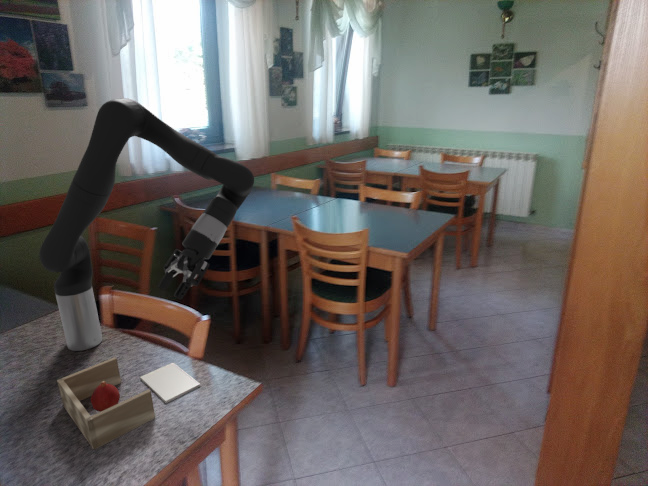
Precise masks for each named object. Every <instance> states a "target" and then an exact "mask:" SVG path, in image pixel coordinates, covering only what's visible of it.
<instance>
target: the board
mask: <svg viewBox="0 0 648 486" xmlns="http://www.w3.org/2000/svg"><path fill="white" fill-rule="evenodd" d="M139 379H140V380H141V381H142V382H143V383H144V384H145V385H146V386H147V387H148V388H149V390H150V391H152V392H153V393H154V394H156V396H158V397H159V398H160V400H162V401H163V402H164V403H165V404H168V403H169V402H172V401H174V400H175V399H177V398H179V397H181V396H184V395H185V394H187V393H189V392H191V391H194V390H196V389H197V388H199V387H201V383H200V382H199V381H197V380H196V379H195V378H193V377H192V376H191V375H190V374H188V373H187V372H186V371H185V370H183V369H182V368H181V367H179V365H177V364H176V363H174V362H171V363H168V364H167V365H163V366H162V367H159V368H157V369H155V370H153V371H151V372H149V373H146V374H144V375H142V376H139Z"/></svg>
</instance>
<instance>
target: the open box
mask: <svg viewBox="0 0 648 486" xmlns="http://www.w3.org/2000/svg"><path fill="white" fill-rule="evenodd" d="M56 381H57V385H58V390H59V393H60V398H61V402H62V406H63V408H64V409H65V410H66V412H67V413H68V415H69V416H70V417H71V419H72V420H73V422H74V423H75V425H76V427H78V429H79V432H81V433H82V435H83V437H84V438H85V439H86V441H87V442H88V444H89V445H90V447H91V448H92V449H93V450H96V449H98V448H101V447H102V446H104V445H105V444H108V443H110V442H112V441H114V440H116V439H117V438H119V437H121V436H123V435H125V434H127V433H129V432H131V431H133V430H135V429H137V428H139V427H141V426H143V425H144V424H146V423H149V422H150V421H153V420H154V419H156V414H155V408H154V401H153V397H152V396H153V395H152V390H151V389H150V388H149V389H146V390H145V391H141V392H140V393H138V394H136V395H133V396H131V397H129V398H128V399H125V400H123V401H120V402H118V404H116V405H114V406H112V407H110V408H108V409H106V410H104V411H101V412H100V411H98V413H95V414H93V415H90V413H89V412H88V411H87V409H86V408H85V407H84V405H83V404H82V403H81V401H83V400H86V399H88V398H91V396H92V393H93V391H94V390H95V389H96V388H97V387H98V386H99V385H100V384H101V383H102V382H103V381H105V382H106V383H107V384H111V385H113V386H115V387H116V386H117V385H119V384H122V379H121V375H120V368H119V363H118V358H117V357H116V356H114V357H113V358H109V359H107V360H105V361H102V362H100V363H97V364H95V365H92V366H89V367H87V368H84V369H82V370H79V371H77V372H74V373H71V374H69V375H67V376H64V377H62V378H59V379H57V380H56Z"/></svg>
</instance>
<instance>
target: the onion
mask: <svg viewBox="0 0 648 486" xmlns="http://www.w3.org/2000/svg"><path fill="white" fill-rule="evenodd" d="M120 399H121V395H120V392H119V389H118V388H117V387H116V385H115V386H113V385H111V384H107V383H106V382H105V381H103V382H102V383H101V384H100V385H99V386H98V387H97V388H96V389H95V390H94V391H93V393H92V396H90V403H91V406H92V408H93V409H94V410H95V411H97V412H101V411H104V410H106V409H108V408H110V407H112V406H114V405H116V404H118V403H120Z"/></svg>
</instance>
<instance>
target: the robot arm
mask: <svg viewBox="0 0 648 486" xmlns="http://www.w3.org/2000/svg"><path fill="white" fill-rule="evenodd" d="M132 137H136V138H140V139H142V140H145V141H148V142H149V143H152V144H153V145H155V146H157V147H158V148H160V149H161V150H163V151H164V153H166V154H167V155H168V156H170V158H171V159H172V160H174V161H175V162H177V163H178V164H179V165H180V166H182V167H183V168H184V169H186V170H188V171H190V172H192V173H193V174H195V175H197V176H200V177H201V178H203V179H205V180H208V181H210V180H214V181H215V182H218V183H219V184H222V186H221V187H220V189H219V191H218V192H217V194H216V196H213V198H212V199H211V200H210V202H209V203H208V205H207V206H206V208H205V209H204V211H203V212H202V214H200V216H199V217H198V218H197V219H196V221H195V223H194V224H193V225H192V227H191V228H190V230H189V232H188V233H187V234H186V236H185V238H184V239H183V241H182V242H181V243H182V246H183V247H184V249H183V250H182V251H181V250H180V249H178V248H176V249H175V250H173V252H172V254H171V255H170V257H168V259H167V261H166V263H165V264H164V265H163V267H162V268H163V270H164V273H165V274H164V275H163V276H162V277H161V279H160V281H159V283H158V285H157V287H158V288H159V289H161V290H163V291H167V289H168V288H169V286H170V284H171V283H172V281H173V280H174V277H176V276H177V275H178V274H183V278H182V281H181V282H180V284H179V285H178V287H177V288H176V290H175V291H174V293H173V297H175V298H176V299H178V300H180V301H181V300H183V298H184V297H185V296H186V294H187V292H188V290H190V288H191V287H192V288H193V286H195V287H199V285H200V283H201V282H202V280H203V278H204V276H205V275H206V273H207V271H208V269H209V267H210V263H209V262H207V261H206V260H209V259H211V257H212V256H213V254H214V252H215V250H216V248H217V247H218V245H219V244H220V242H222V241H221V240H222V239H223V237H224V236H225V233H226V231H227V230H228V227H229V226H230V225H231V223H232V221H233V219H234V218H235V215H236V214H237V211H238V210H239V208H240V207H241V206H242V204H243V203H244V202H245V200H246V199H247V198H248V195H250V193H251V191H252V189H253V186H254V184H255V175H254V174H253V172H252V171H251V169H249V168H248V167H246V166H245V165H244V164H242V163H240V162H238V161H235V160H233V159H230V158H227V157H225V156H221V155H219V154H217V153H216V152H215V151H213V150H210V149H209V148H207V147H205V146H204V145H202V144H200V143H198V142H196V141H194V140H192V139H191V138H189V137H188V136H185V135H184V134H183V133H181V132H179V131H177V130H176V129H174V128H173V127H171V126H170V125H169V124H167V123H165V122H164V121H163V120H161V119H160V118H159V117H157V116H156V115H155V114H154V113H152V112H151V111H150V110H149V109H148V108H146V107H144V105H142V104H141V103H140V102H137V101H136V100H134V99H132V98H128V97H127V98H126V97H122V98H116V99H115V98H114V99H111V100H108V101H106V102H104V103H103V104H102V105H101V106H100V108H99V109H98V112H97V114H96V117H95V121H94V125H93V128H92V132H91V135H90V139H89V142H88V145H87V148H86V150H85V152H84V154H83V156H82V158H81V160H80V163H79V165H78V167H77V170H76V172H75V174H74V176H73V178H72V180H71V183H70V185H69V187H68V190H67V193H66V195H65V197H64V200H63V202H62V205H61V206H60V209H59V212H58V214H57V217H56V219H55V221H54V222H53V225H52V227H51V228H50V230H49V232H48V233H47V235H46V236H45V238H44V240H43V241H42V243H41V246H40V248H39V253H38V255H39V261H40V263H41V266H42V267H43V268H44V269H45V270H47V271H48V272H51V273H59V275H58V277H57V278H56V280H55V282H54V284H53V289H54V293H55V299H56V302H57V305H58V306H57V307H58V311H59V312H58V313H59V315H60V319H61V324H62V329H63V333H64V338H65V341H66V342H65V343H66V347H67V349H68V350H70V351H73V352H81V351H85V350H90V349H92V348H94V347H97V346H98V345H99V344H100V343H102V341H103V333H102V329H101V324H100V320H99V319H100V318H99V315H98V314H99V313H98V309H97V304H96V299H95V295H94V294H95V293H94V290H93V285H92V284H93V283H92V279H93V273H94V272H93V265H92V259H91V253H90V252H91V251H90V248H89V244H88V243H87V240H86V239H85V238H84V237H83V236H82V235H83V233H84V232H85V231H86V229H87V228H88V227H90V225H91V224H92V223H93V222H94V221H95V220H96V218H97V217H98V216H99V215H100V214H101V213H102V211H103V210H104V208H105V206H106V204H107V203H108V201H109V198H110V197H111V194H112V192H113V189H114V186H115V182H116V168H117V162H118V160H119V157H120V155H121V153H122V151H123V149H124V148H125V146H126V144H127V142H128V141H129V139H131V138H132Z"/></svg>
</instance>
